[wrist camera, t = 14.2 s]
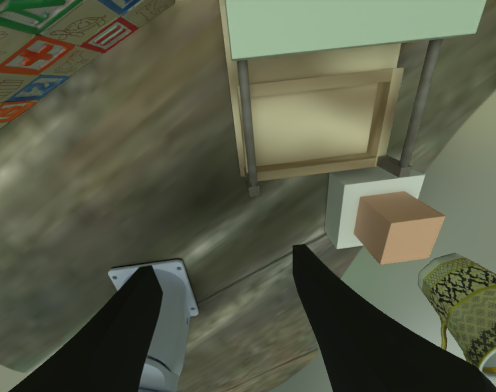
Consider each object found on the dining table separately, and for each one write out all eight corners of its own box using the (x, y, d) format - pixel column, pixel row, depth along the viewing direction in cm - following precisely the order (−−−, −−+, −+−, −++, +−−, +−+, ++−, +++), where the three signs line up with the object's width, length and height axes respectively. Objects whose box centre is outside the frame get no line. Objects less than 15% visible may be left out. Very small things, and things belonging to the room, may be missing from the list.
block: (394, 228, 21) (428, 257, 17) (353, 233, 21) (380, 264, 17) (404, 191, 19) (445, 216, 15) (360, 196, 19) (391, 223, 15)
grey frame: (376, 158, 20) (414, 177, 16) (240, 175, 20) (244, 198, 16) (413, -38, 14) (489, -86, 10) (216, -19, 14) (212, -62, 10)
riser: (385, 222, 24) (405, 239, 22) (324, 230, 24) (336, 249, 21) (400, 163, 21) (425, 174, 18) (329, 172, 21) (344, 185, 18)
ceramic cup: (447, 232, 26) (562, 309, 17) (494, 256, 29) (613, 333, 20) (374, 300, 31) (434, 387, 22) (420, 314, 34) (490, 397, 25)
